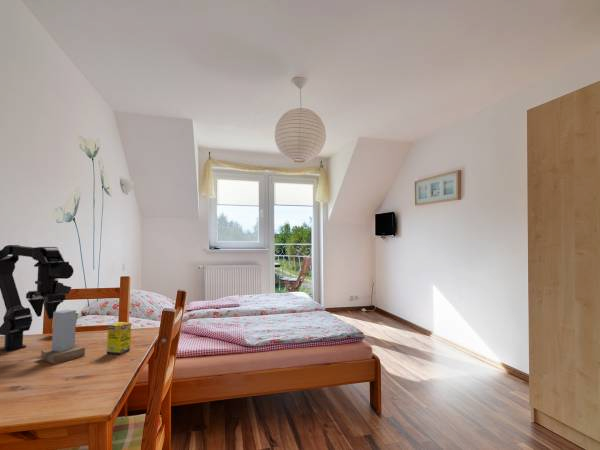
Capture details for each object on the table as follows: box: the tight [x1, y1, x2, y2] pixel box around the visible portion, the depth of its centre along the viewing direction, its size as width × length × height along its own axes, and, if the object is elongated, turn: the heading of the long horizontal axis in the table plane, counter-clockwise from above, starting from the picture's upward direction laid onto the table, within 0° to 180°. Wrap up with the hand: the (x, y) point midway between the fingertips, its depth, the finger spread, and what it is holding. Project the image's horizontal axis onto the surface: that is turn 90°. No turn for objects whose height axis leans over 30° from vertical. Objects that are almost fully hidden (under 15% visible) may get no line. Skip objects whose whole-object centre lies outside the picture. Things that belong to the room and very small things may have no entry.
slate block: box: [51, 309, 77, 352], centre depth 124 cm, size 5×5×14 cm
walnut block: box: [40, 344, 86, 365], centre depth 123 cm, size 10×10×3 cm
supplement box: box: [106, 321, 132, 355], centre depth 130 cm, size 6×6×11 cm
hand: (44, 317), depth 131 cm, fingers open, 9 cm apart
